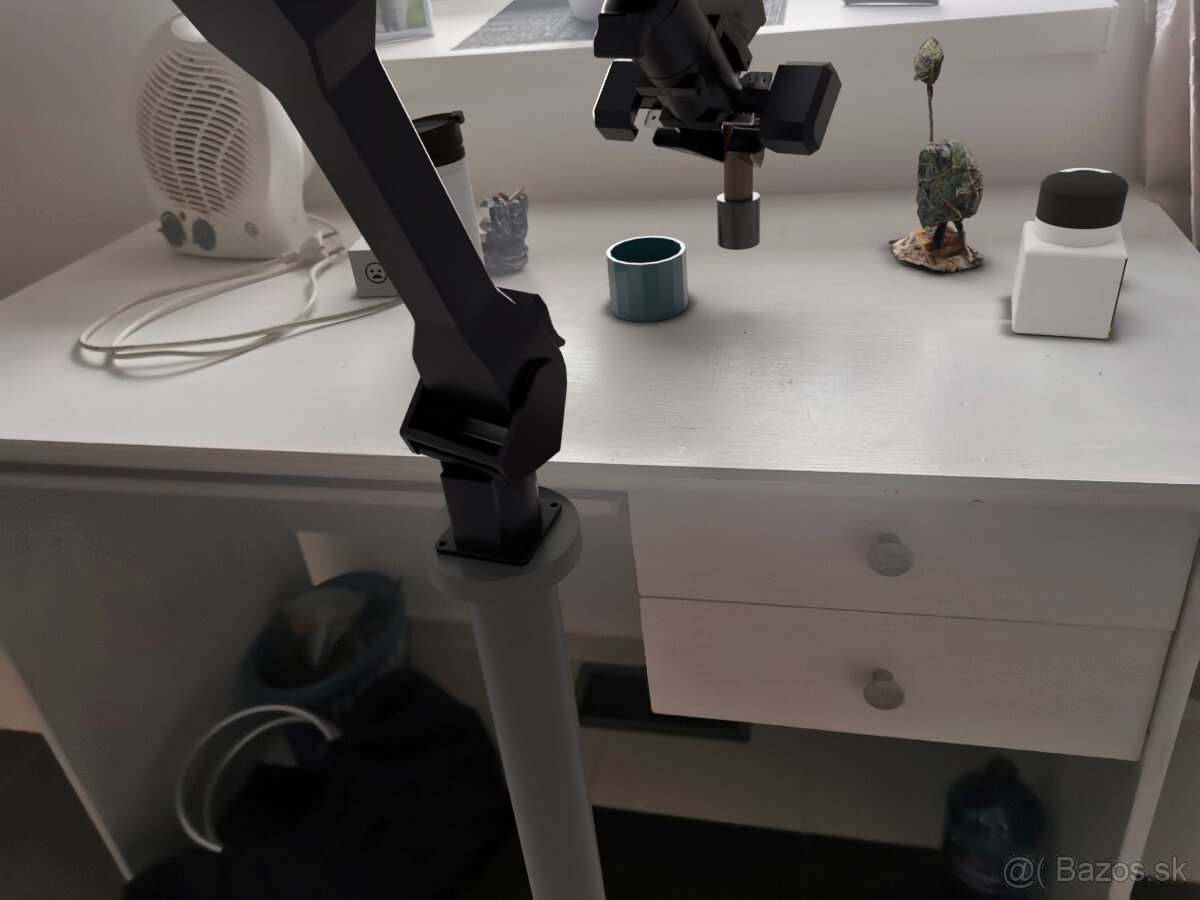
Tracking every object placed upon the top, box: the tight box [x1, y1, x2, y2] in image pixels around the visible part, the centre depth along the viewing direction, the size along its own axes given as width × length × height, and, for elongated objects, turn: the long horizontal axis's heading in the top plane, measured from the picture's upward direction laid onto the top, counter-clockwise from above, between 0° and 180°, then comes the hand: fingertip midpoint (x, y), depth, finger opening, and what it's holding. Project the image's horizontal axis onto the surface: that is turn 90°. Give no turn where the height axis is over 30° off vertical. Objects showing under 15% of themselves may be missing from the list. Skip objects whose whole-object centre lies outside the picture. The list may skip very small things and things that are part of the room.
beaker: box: [605, 235, 689, 323], centre depth 84 cm, size 7×7×6 cm
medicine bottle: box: [1011, 167, 1130, 340], centre depth 72 cm, size 7×7×12 cm
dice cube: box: [347, 235, 400, 298], centre depth 94 cm, size 5×5×5 cm
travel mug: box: [410, 109, 486, 267], centre depth 76 cm, size 6×7×20 cm
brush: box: [716, 124, 761, 251], centre depth 75 cm, size 4×4×11 cm
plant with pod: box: [887, 36, 985, 273], centre depth 83 cm, size 8×11×20 cm
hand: (745, 161), depth 75 cm, fingers closed on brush, 2 cm apart
